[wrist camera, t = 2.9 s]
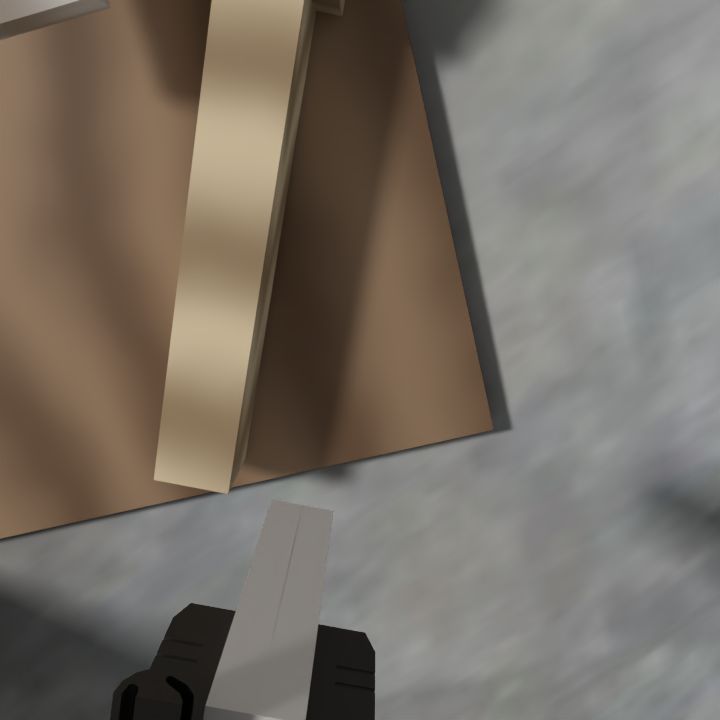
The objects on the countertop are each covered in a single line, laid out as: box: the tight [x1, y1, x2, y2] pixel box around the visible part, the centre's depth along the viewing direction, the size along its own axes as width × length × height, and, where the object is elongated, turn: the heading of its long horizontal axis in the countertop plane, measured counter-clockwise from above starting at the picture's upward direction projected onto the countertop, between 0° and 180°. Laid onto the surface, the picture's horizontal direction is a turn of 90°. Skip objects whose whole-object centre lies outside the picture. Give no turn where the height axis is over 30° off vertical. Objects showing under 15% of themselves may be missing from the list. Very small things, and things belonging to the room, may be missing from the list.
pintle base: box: [0, 0, 494, 539], centre depth 26 cm, size 27×29×7 cm
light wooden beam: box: [154, 0, 345, 494], centre depth 26 cm, size 24×5×4 cm, turn 169°
